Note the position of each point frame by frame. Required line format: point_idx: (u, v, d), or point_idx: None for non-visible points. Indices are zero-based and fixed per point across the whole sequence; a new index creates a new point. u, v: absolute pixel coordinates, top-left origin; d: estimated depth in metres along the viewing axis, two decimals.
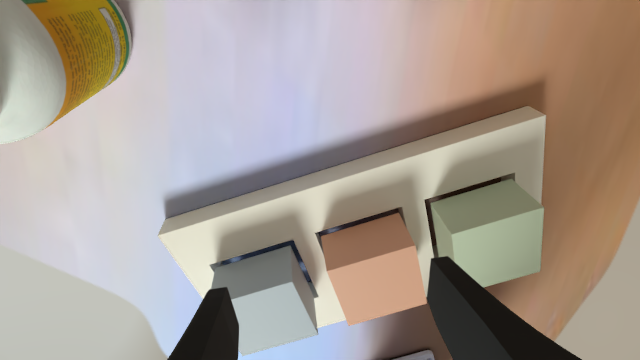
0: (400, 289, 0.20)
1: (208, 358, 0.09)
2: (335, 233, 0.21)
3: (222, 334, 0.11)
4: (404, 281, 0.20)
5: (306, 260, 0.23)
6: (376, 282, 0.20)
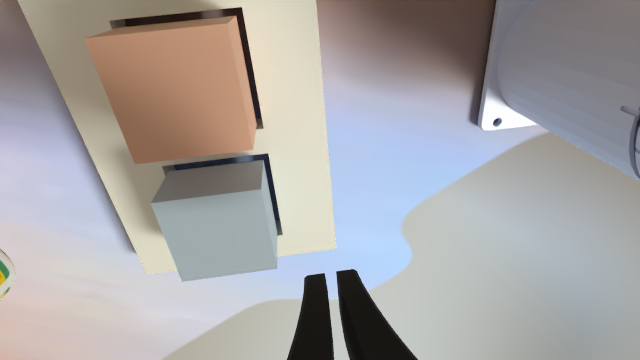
0: (183, 67, 0.13)
1: (330, 340, 0.09)
2: None
3: (329, 318, 0.11)
4: (165, 61, 0.13)
5: (198, 157, 0.18)
6: (162, 104, 0.14)
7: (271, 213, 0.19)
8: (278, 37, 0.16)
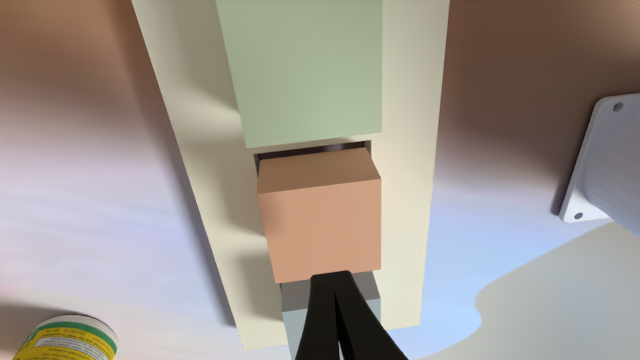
0: (336, 211, 0.14)
1: (337, 339, 0.09)
2: None
3: None
4: (321, 207, 0.14)
5: None
6: (311, 238, 0.15)
7: None
8: (398, 161, 0.17)
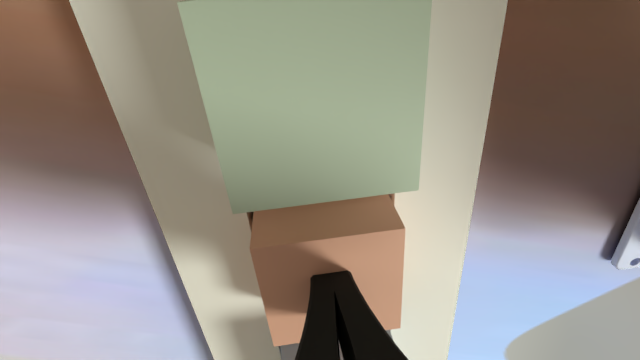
0: (348, 266, 0.12)
1: (337, 339, 0.10)
2: None
3: None
4: (330, 262, 0.12)
5: None
6: None
7: None
8: (428, 209, 0.14)
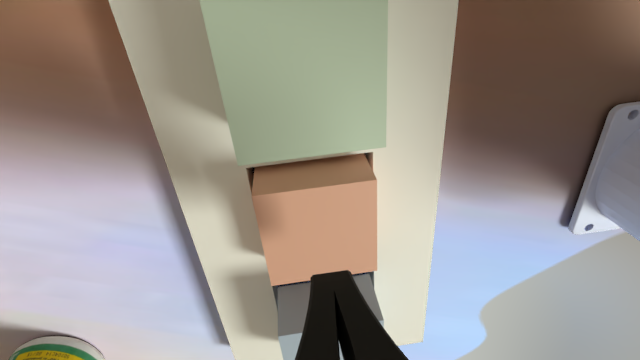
0: (331, 213, 0.14)
1: (337, 339, 0.10)
2: None
3: (336, 318, 0.11)
4: (317, 209, 0.14)
5: None
6: (307, 240, 0.15)
7: None
8: (402, 174, 0.16)
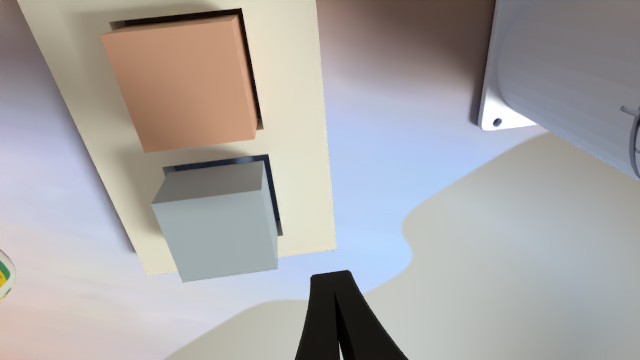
0: (190, 62, 0.14)
1: (337, 339, 0.10)
2: None
3: None
4: (173, 56, 0.14)
5: (198, 158, 0.18)
6: (171, 96, 0.15)
7: (271, 214, 0.19)
8: (278, 38, 0.16)
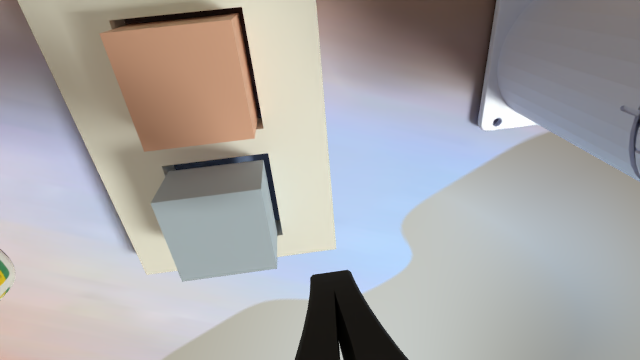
0: (190, 61, 0.14)
1: (337, 339, 0.10)
2: None
3: None
4: (173, 55, 0.14)
5: (198, 157, 0.18)
6: (171, 95, 0.15)
7: (271, 213, 0.19)
8: (278, 37, 0.16)
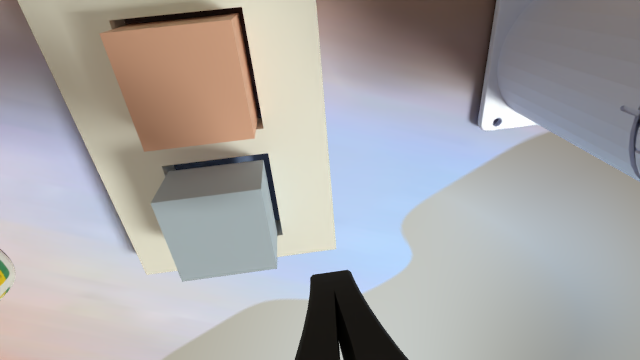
0: (190, 61, 0.14)
1: (337, 339, 0.10)
2: None
3: None
4: (173, 55, 0.14)
5: (198, 157, 0.18)
6: (171, 95, 0.15)
7: (271, 213, 0.19)
8: (278, 37, 0.16)
